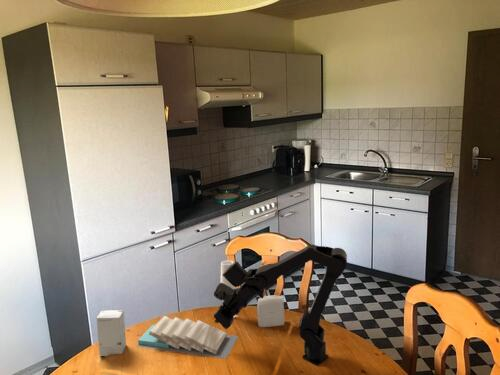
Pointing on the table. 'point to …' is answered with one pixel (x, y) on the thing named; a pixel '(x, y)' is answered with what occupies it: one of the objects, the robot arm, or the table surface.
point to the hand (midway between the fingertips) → (215, 321)
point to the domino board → (221, 352)
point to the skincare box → (111, 332)
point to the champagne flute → (224, 267)
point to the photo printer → (270, 311)
